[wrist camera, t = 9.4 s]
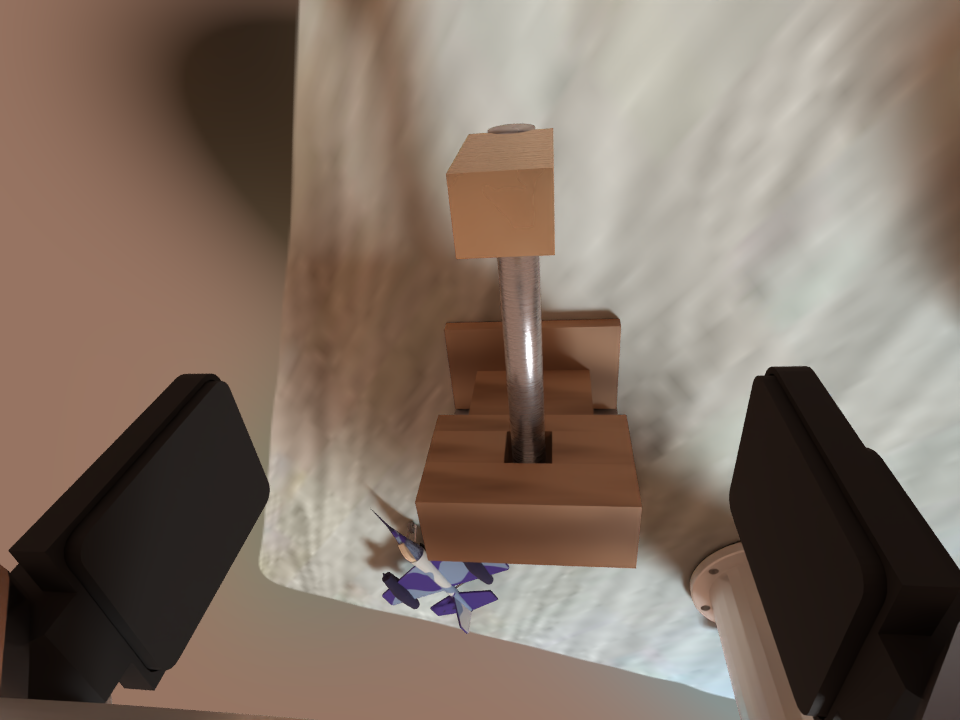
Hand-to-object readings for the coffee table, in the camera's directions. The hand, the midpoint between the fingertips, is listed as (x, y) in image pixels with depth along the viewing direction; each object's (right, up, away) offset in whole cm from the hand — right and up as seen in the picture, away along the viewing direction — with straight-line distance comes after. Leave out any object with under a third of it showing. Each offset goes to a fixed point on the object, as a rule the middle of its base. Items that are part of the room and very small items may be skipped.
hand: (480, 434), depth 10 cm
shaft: (+2, +3, +20) cm, 20 cm away
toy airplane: (-4, -17, +44) cm, 47 cm away
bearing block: (+4, +1, +31) cm, 31 cm away
